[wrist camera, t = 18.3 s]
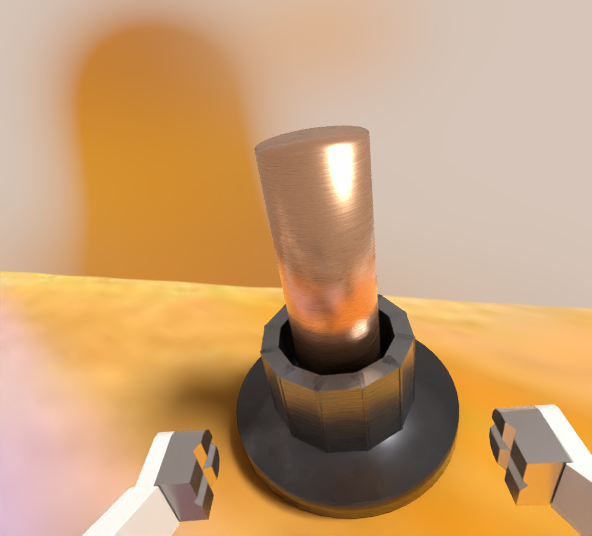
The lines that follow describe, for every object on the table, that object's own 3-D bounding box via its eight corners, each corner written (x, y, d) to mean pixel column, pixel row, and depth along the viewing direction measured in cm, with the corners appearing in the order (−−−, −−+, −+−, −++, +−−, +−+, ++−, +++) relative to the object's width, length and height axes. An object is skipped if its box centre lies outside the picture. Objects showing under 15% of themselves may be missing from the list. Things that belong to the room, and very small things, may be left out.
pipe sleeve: (223, 524, 20) (186, 450, 17) (255, 343, 32) (237, 280, 29) (497, 512, 19) (516, 428, 15) (423, 327, 31) (425, 258, 27)
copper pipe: (304, 427, 23) (246, 163, 15) (305, 366, 27) (261, 136, 19) (388, 421, 22) (377, 144, 14) (376, 360, 26) (361, 120, 18)
